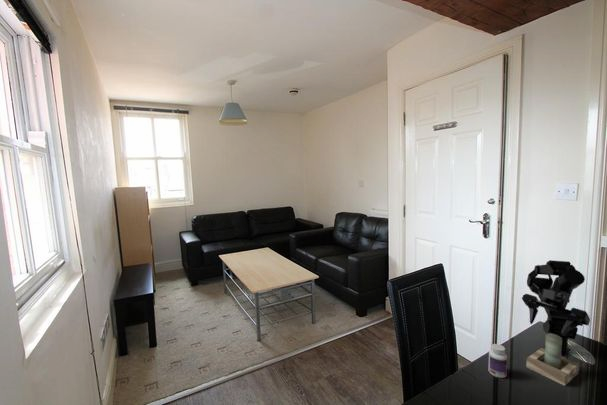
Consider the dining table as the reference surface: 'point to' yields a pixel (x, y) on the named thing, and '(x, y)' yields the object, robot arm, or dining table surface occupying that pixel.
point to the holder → (560, 376)
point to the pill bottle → (497, 361)
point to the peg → (553, 350)
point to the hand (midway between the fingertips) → (545, 328)
